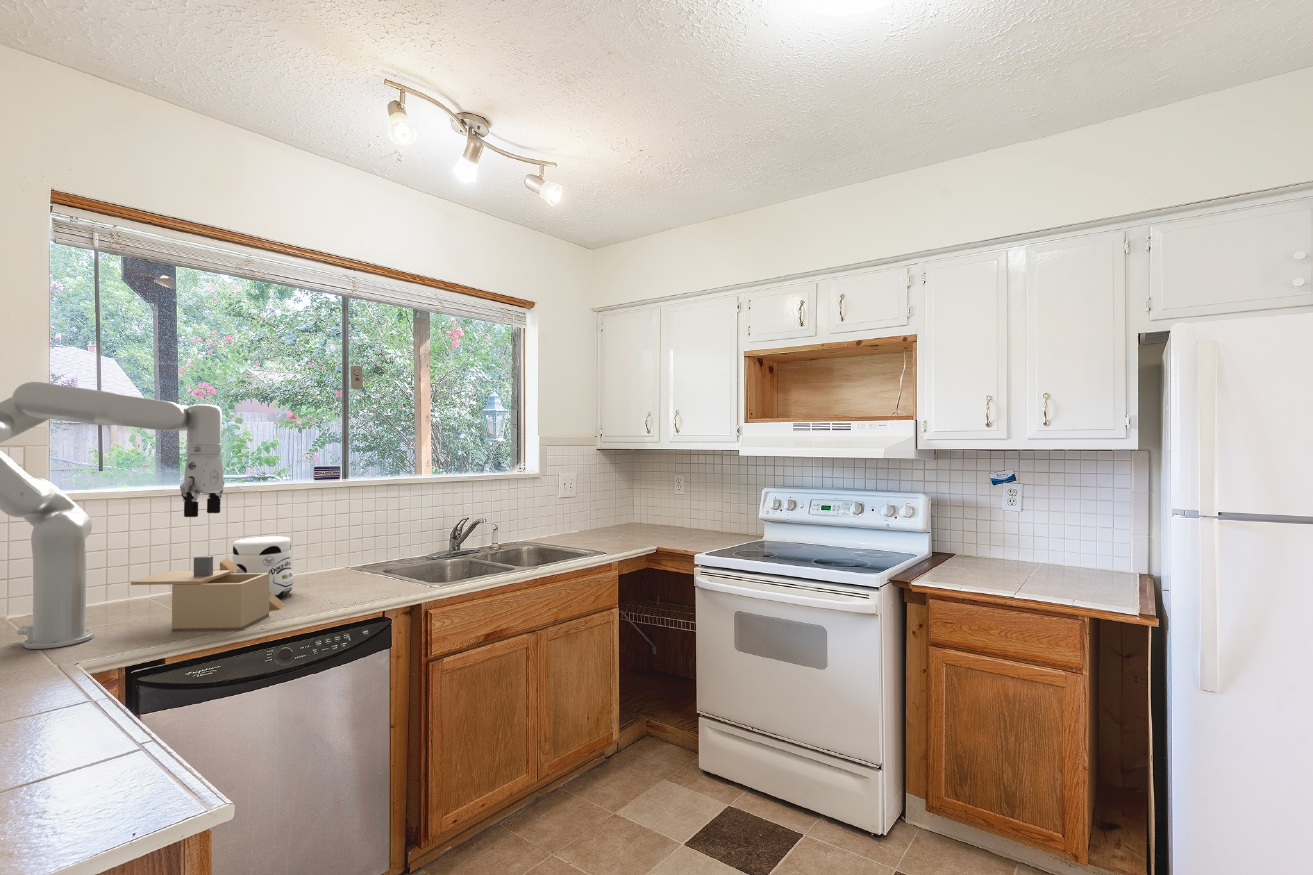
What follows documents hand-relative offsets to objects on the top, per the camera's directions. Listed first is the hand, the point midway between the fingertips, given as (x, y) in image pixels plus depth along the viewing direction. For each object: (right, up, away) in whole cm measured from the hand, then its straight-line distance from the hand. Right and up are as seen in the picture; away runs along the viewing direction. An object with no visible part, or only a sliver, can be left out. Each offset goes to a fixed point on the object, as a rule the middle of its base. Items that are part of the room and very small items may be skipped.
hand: (202, 514), depth 175 cm
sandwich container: (+4, -30, +16) cm, 34 cm away
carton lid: (-5, -17, 0) cm, 18 cm away
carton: (+5, -29, 0) cm, 30 cm away
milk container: (-2, -30, +30) cm, 42 cm away
